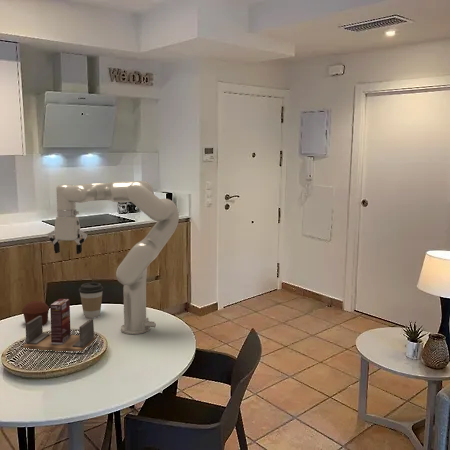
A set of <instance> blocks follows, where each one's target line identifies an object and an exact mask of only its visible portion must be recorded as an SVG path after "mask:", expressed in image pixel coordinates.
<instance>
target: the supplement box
mask: <svg viewBox="0 0 450 450" xmlns="http://www.w3.org/2000/svg"><path fill="white" fill-rule="evenodd" d="M70 301H71V299H69V298H58V299H57V300H56V301H54V302H53V303H51V304H50V305H49V306H50V307H49V308H50V309H49V311H50V312H49V313H50V334H51V344H54V345H63V344H64V343H65V342H66V341H67V340H68V339H69V338H70V337H71V335H72V333H71V332H72V331H71V330H72V329H71V328H72V327H71V308H70V307H71V302H70Z"/></svg>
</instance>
